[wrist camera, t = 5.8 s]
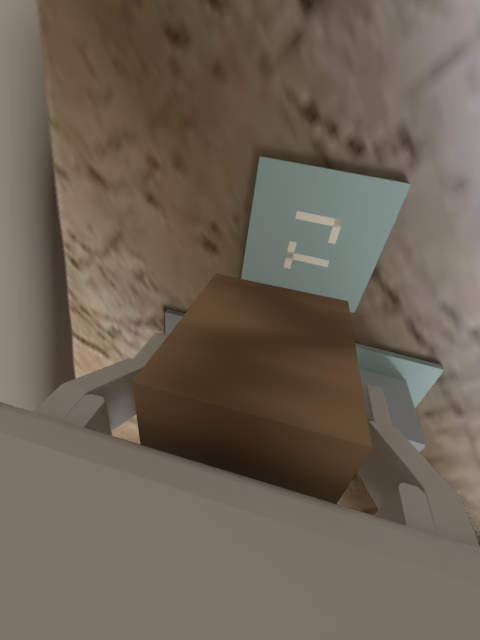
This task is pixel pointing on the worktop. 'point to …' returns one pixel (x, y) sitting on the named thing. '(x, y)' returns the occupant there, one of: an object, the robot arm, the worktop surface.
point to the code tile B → (400, 369)
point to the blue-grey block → (398, 406)
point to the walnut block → (260, 388)
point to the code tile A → (319, 228)
